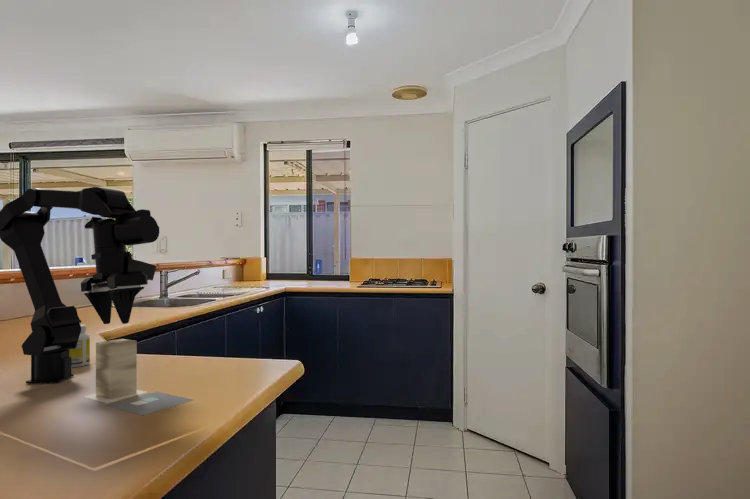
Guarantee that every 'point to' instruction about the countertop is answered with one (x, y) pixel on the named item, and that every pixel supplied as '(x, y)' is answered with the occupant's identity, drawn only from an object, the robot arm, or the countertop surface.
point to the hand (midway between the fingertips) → (116, 323)
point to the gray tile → (149, 403)
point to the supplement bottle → (81, 350)
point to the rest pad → (113, 399)
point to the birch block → (116, 368)
